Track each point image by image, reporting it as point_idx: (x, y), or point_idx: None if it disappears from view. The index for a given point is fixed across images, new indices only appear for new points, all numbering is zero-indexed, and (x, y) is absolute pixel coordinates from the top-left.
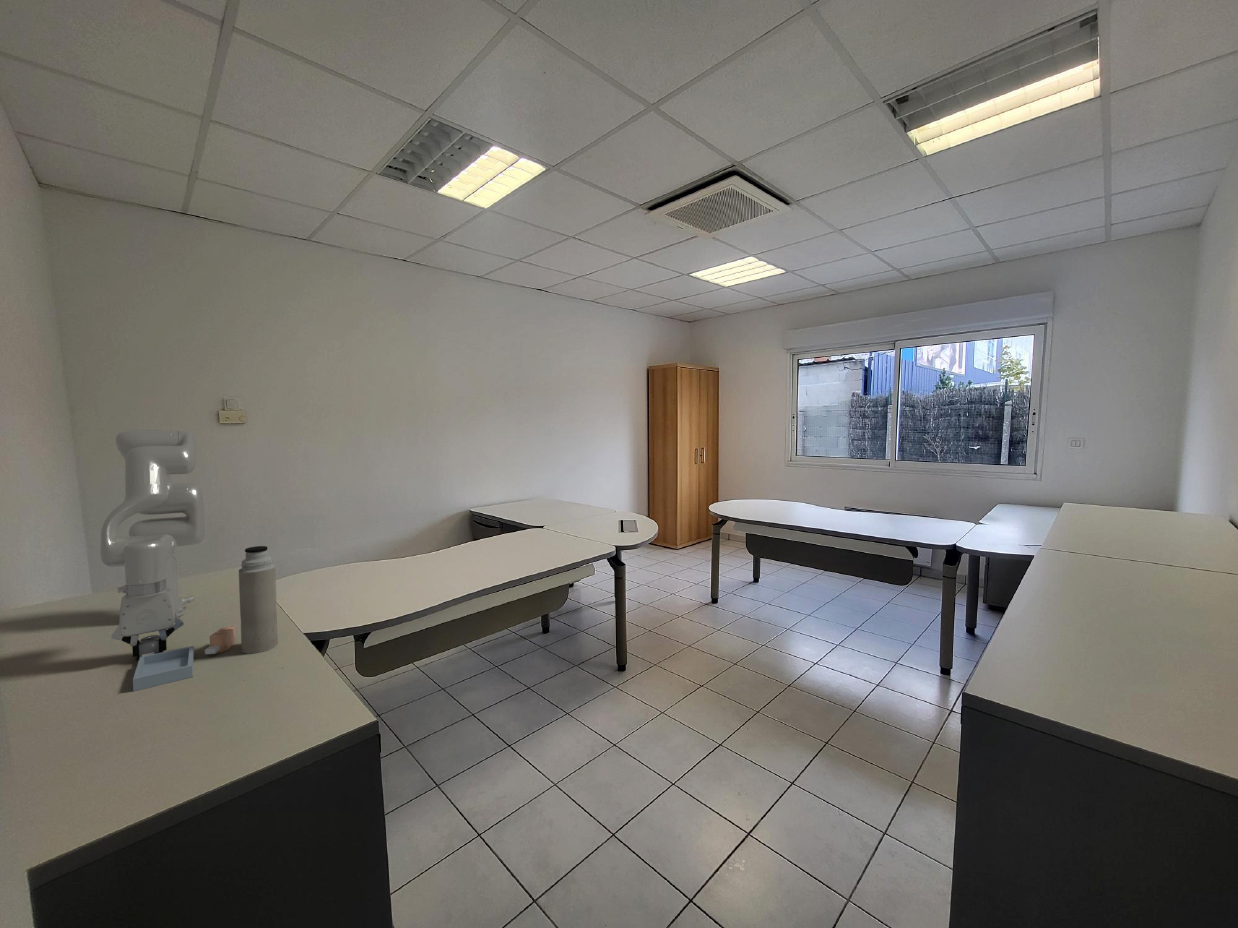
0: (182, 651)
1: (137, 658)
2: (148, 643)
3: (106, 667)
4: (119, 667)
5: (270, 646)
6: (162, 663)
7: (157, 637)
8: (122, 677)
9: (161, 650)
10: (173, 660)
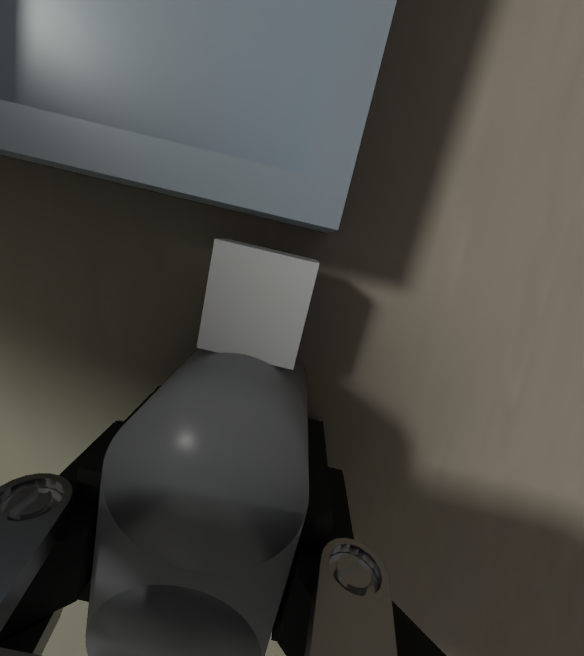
0: None
1: (316, 426)
2: (211, 463)
3: (485, 463)
4: (430, 387)
5: None
6: (177, 74)
7: (108, 598)
8: (479, 100)
9: None
10: (86, 72)
